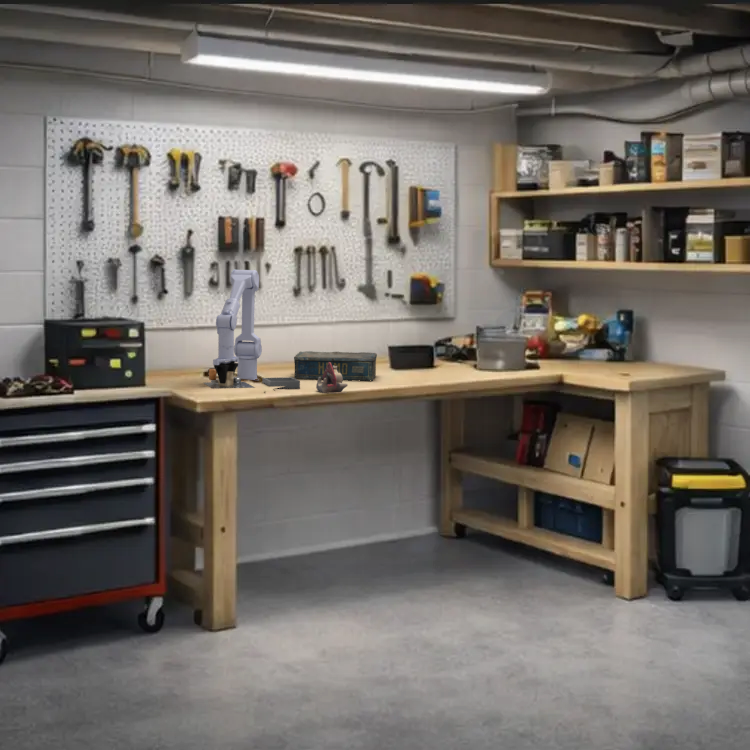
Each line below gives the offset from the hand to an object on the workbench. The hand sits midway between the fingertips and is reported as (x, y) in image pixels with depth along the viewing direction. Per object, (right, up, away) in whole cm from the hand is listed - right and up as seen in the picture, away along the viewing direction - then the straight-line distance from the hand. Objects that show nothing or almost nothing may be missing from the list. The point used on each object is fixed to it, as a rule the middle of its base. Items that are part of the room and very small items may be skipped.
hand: (225, 382), depth 442 cm
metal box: (+40, +1, +40) cm, 57 cm away
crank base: (+1, -2, +1) cm, 2 cm away
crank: (-1, 0, +5) cm, 5 cm away
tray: (+20, -2, +6) cm, 21 cm away
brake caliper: (+39, -4, -3) cm, 40 cm away
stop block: (0, -1, 0) cm, 1 cm away
